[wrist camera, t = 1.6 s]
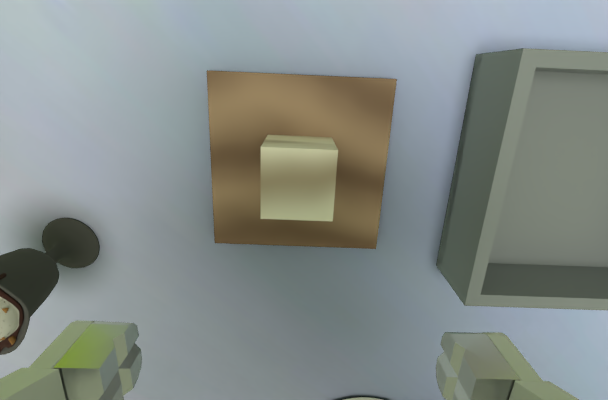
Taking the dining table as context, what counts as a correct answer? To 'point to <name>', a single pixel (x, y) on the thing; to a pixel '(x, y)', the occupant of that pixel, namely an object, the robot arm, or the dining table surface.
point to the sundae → (39, 275)
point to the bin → (531, 183)
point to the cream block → (298, 178)
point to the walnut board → (298, 122)
